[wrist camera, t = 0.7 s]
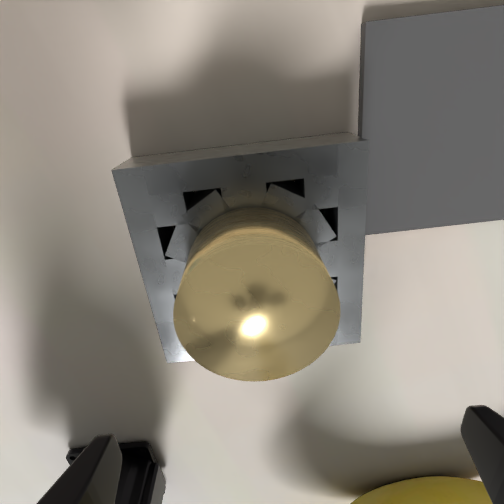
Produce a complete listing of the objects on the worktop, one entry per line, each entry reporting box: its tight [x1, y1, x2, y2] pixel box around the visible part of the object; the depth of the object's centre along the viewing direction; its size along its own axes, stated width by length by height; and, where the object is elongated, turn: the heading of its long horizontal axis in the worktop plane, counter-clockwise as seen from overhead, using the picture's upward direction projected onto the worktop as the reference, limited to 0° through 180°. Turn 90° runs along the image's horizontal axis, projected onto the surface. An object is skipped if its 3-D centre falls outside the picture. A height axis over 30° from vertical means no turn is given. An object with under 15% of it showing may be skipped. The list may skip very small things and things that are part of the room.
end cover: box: [173, 208, 341, 381], centre depth 16 cm, size 6×6×7 cm
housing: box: [112, 132, 369, 363], centre depth 18 cm, size 11×11×3 cm
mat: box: [358, 5, 504, 235], centre depth 17 cm, size 10×10×1 cm
